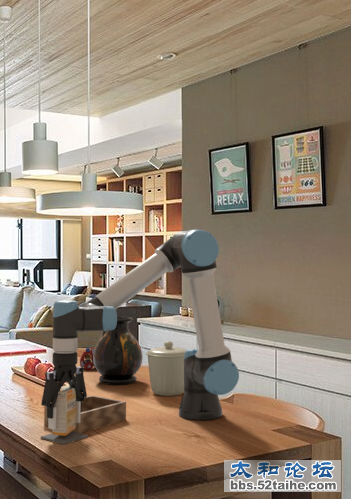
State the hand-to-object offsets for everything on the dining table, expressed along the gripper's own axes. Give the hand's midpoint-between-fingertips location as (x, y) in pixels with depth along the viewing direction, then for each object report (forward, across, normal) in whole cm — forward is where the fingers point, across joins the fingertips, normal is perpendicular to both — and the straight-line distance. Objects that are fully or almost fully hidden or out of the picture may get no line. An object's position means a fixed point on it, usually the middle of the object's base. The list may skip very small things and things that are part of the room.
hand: (64, 425), depth 198 cm
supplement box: (+2, 0, 0) cm, 2 cm away
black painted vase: (+4, -74, -46) cm, 87 cm away
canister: (+4, -69, -14) cm, 71 cm away
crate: (+4, -17, -8) cm, 19 cm away
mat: (+4, 0, 0) cm, 4 cm away
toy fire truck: (+4, -90, -77) cm, 118 cm away
